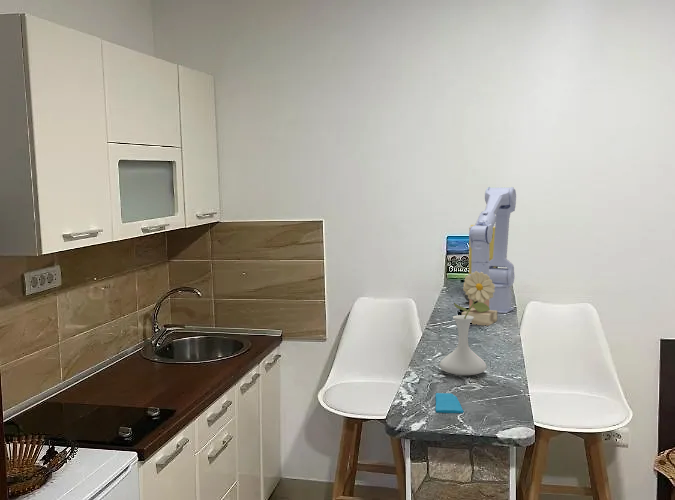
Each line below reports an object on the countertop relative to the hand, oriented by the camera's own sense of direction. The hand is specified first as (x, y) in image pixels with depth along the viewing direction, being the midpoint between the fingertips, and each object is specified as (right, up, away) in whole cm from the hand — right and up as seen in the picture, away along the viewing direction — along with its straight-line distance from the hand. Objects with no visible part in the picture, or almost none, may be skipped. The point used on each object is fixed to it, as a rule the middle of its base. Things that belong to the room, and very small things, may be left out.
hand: (479, 302), depth 233 cm
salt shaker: (+4, -3, +36) cm, 36 cm away
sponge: (-24, -16, -85) cm, 89 cm away
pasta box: (+13, -1, +57) cm, 59 cm away
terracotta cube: (0, -2, 0) cm, 2 cm away
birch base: (0, -6, +1) cm, 6 cm away
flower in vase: (-16, -13, -61) cm, 64 cm away
